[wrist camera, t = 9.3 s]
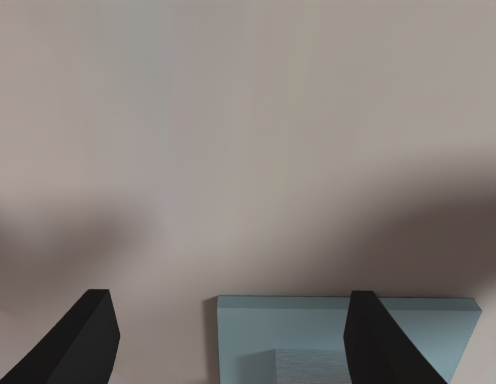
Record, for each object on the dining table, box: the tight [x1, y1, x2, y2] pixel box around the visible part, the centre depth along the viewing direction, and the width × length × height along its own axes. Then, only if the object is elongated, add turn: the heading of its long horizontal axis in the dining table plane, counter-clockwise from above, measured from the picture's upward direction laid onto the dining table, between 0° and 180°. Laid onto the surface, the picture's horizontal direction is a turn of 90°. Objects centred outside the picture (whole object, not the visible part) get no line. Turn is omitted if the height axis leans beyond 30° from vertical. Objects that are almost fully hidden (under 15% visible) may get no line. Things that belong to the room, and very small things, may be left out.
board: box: [217, 296, 482, 384], centre depth 28 cm, size 16×16×1 cm
